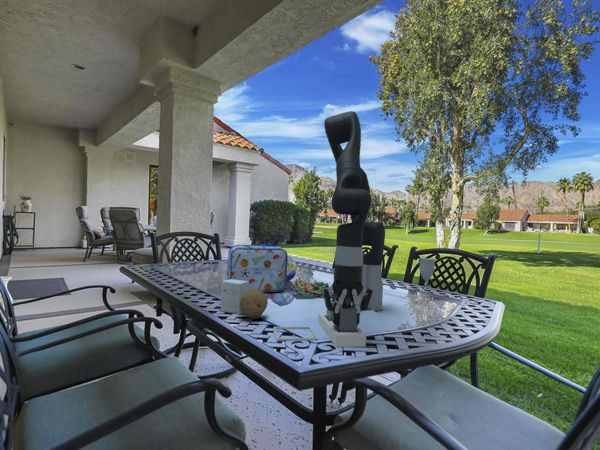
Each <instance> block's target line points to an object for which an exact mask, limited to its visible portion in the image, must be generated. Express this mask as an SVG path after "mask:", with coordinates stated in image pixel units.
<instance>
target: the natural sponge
mask: <svg viewBox="0 0 600 450" xmlns="http://www.w3.org/2000/svg"><path fill="white" fill-rule="evenodd" d="M268 302H269V300H268V297H267V295H266V294H265V292H262V291H260V290H257V289H251V290H249V291H247V292H246V293H245V294H244V295H243V296H242V297H241V300H240V310H241V312H242V313H241V314H243V315H244V316H246V317H247V318H248V319H249V320H257V319H259V318H260V317H261V316H262V315H263V314H264V312H265V311H266V309H267V307H268Z"/></svg>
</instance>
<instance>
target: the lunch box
mask: <svg viewBox="0 0 600 450" xmlns="http://www.w3.org/2000/svg"><path fill="white" fill-rule="evenodd" d="M288 255H289V254H288V252H287V250H286V249H284V248H282V247H280V246H277V245H275V242H272V243H269V244H235V245H233V246H231V247H230V249H229V250H228V254H227V266H226V280H229V279H234V280H242V281H249V290H251V289H257V290H260V291H262V292H263V293H274V292H276V293H277V292H281V291H283V290H284V289H285V288H286V284H287V278H288V277H287V276H288V261H289V260H288Z"/></svg>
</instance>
